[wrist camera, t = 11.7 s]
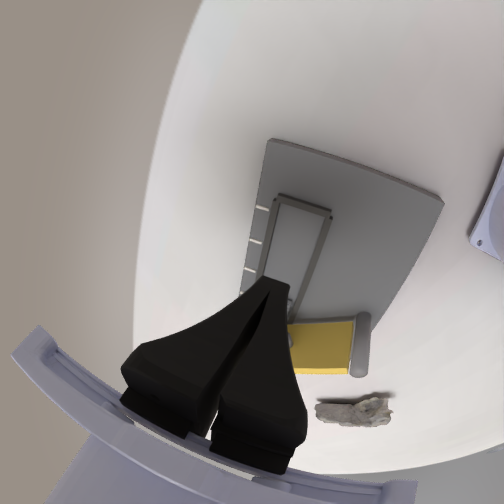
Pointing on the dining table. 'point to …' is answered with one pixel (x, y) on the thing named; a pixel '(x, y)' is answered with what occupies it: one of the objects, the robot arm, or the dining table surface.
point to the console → (336, 238)
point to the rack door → (321, 347)
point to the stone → (356, 413)
